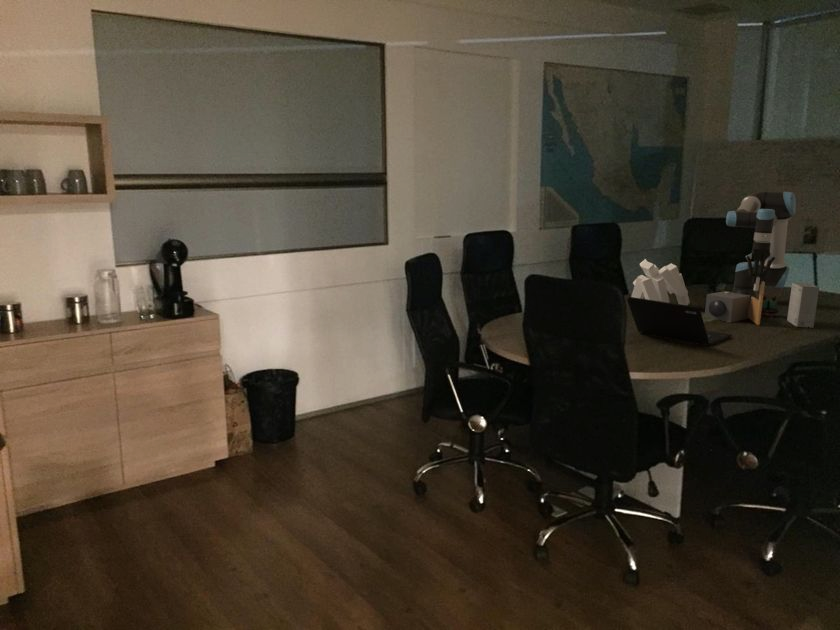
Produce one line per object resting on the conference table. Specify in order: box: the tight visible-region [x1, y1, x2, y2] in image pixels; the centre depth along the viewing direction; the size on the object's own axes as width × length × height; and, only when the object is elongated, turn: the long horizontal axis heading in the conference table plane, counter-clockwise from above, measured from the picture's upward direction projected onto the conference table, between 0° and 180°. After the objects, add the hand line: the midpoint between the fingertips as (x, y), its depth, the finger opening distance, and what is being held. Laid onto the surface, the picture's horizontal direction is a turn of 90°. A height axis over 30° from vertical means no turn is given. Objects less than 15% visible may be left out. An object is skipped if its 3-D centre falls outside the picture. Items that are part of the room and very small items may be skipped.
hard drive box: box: [786, 281, 820, 329], centre depth 326 cm, size 16×8×20 cm, turn 168°
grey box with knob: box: [704, 290, 750, 323], centre depth 339 cm, size 18×14×13 cm
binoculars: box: [761, 295, 780, 319], centre depth 344 cm, size 9×11×10 cm
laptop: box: [626, 296, 733, 346], centre depth 297 cm, size 33×38×19 cm
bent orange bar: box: [748, 281, 766, 326], centre depth 329 cm, size 16×1×21 cm, turn 168°
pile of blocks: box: [630, 258, 691, 306], centre depth 359 cm, size 35×30×35 cm
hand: (755, 290), depth 322 cm, fingers closed
